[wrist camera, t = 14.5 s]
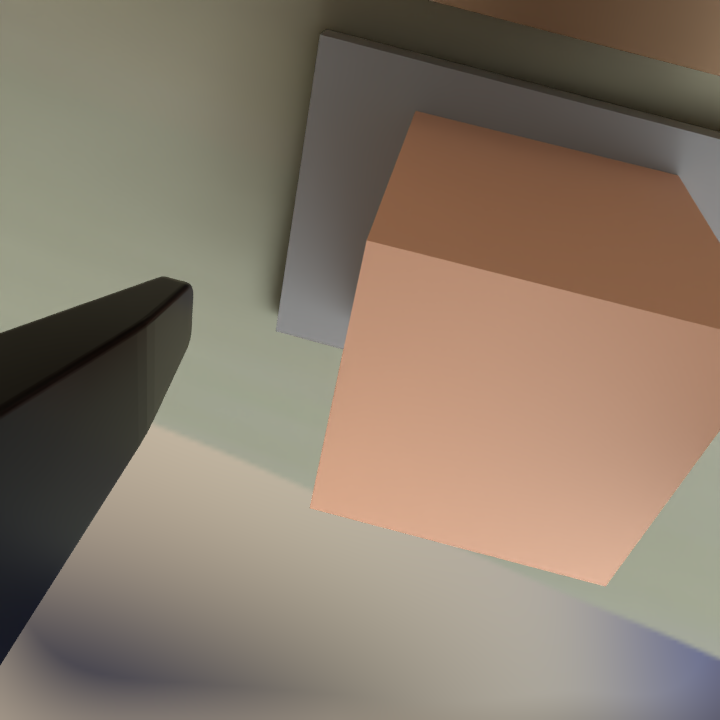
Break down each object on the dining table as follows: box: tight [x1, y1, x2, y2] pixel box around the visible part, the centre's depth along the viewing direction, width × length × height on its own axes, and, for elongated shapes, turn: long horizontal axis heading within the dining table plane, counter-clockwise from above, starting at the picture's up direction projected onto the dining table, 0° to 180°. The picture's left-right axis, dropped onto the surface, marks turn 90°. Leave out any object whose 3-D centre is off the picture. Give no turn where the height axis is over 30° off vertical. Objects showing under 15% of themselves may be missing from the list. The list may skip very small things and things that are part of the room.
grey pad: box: [276, 29, 720, 349], centre depth 12 cm, size 8×6×1 cm
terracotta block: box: [310, 111, 720, 586], centre depth 10 cm, size 4×4×5 cm
